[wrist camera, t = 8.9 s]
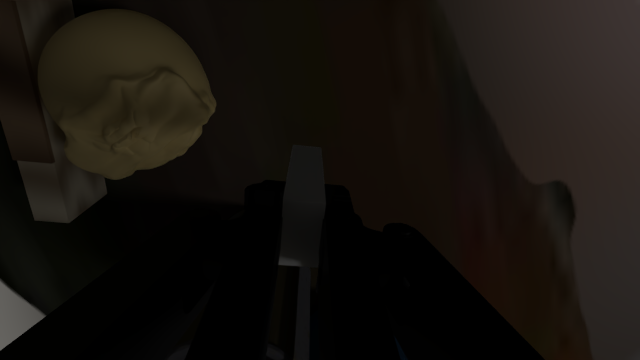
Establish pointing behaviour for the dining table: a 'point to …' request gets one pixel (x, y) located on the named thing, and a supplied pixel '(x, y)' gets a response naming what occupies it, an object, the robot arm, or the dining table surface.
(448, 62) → the dining table surface
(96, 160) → the sculpture
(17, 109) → the board
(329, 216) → the robot arm
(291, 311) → the canister
